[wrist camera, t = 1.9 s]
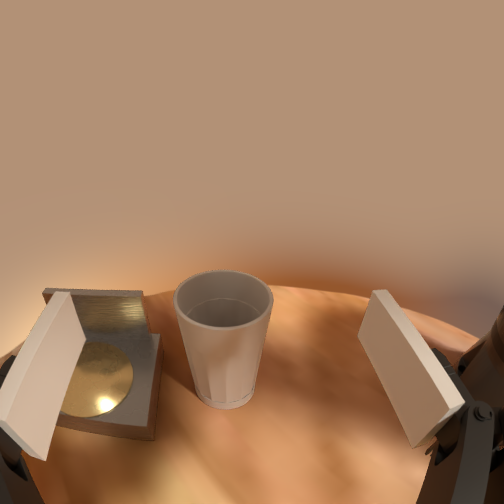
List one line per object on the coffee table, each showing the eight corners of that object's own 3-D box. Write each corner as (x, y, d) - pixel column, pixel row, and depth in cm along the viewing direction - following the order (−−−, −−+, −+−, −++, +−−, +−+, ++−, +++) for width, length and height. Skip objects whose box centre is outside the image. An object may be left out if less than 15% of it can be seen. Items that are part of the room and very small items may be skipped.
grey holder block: (164, 351, 33) (152, 290, 28) (154, 440, 22) (128, 387, 18) (60, 344, 31) (37, 286, 27) (30, 418, 20) (-12, 362, 16)
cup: (176, 404, 26) (156, 316, 21) (201, 352, 33) (194, 264, 28) (254, 423, 25) (263, 339, 19) (268, 365, 32) (279, 276, 26)
